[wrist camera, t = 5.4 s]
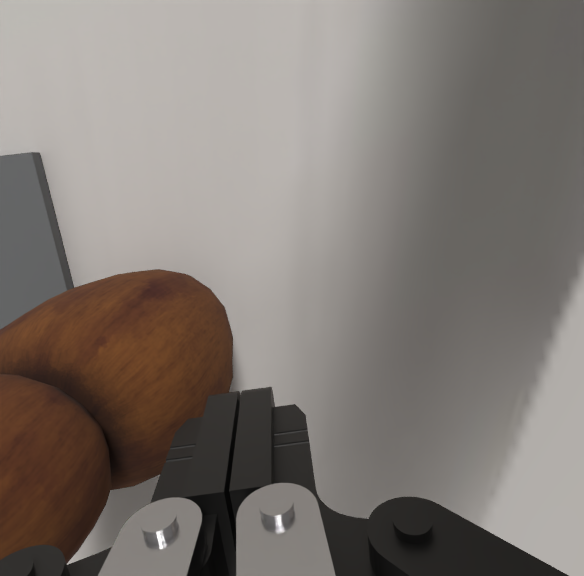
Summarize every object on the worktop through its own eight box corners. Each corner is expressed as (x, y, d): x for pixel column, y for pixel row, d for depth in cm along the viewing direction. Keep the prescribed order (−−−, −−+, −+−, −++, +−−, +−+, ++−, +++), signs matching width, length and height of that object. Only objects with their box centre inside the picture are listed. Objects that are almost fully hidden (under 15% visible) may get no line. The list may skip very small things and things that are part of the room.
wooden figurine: (232, 236, 17) (-551, 729, 3) (272, 375, 18) (-112, 1152, 4) (79, 270, 19) (-865, 677, 5) (127, 394, 20) (-476, 987, 6)
